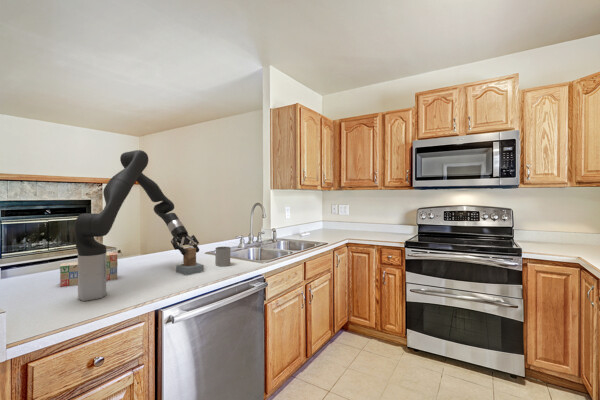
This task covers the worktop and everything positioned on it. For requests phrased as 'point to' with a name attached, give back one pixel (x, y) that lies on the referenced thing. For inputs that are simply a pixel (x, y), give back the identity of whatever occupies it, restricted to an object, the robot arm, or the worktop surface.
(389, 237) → the worktop surface
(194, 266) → the slate block
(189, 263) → the walnut block
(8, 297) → the worktop surface
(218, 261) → the cup
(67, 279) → the stack of blocks
